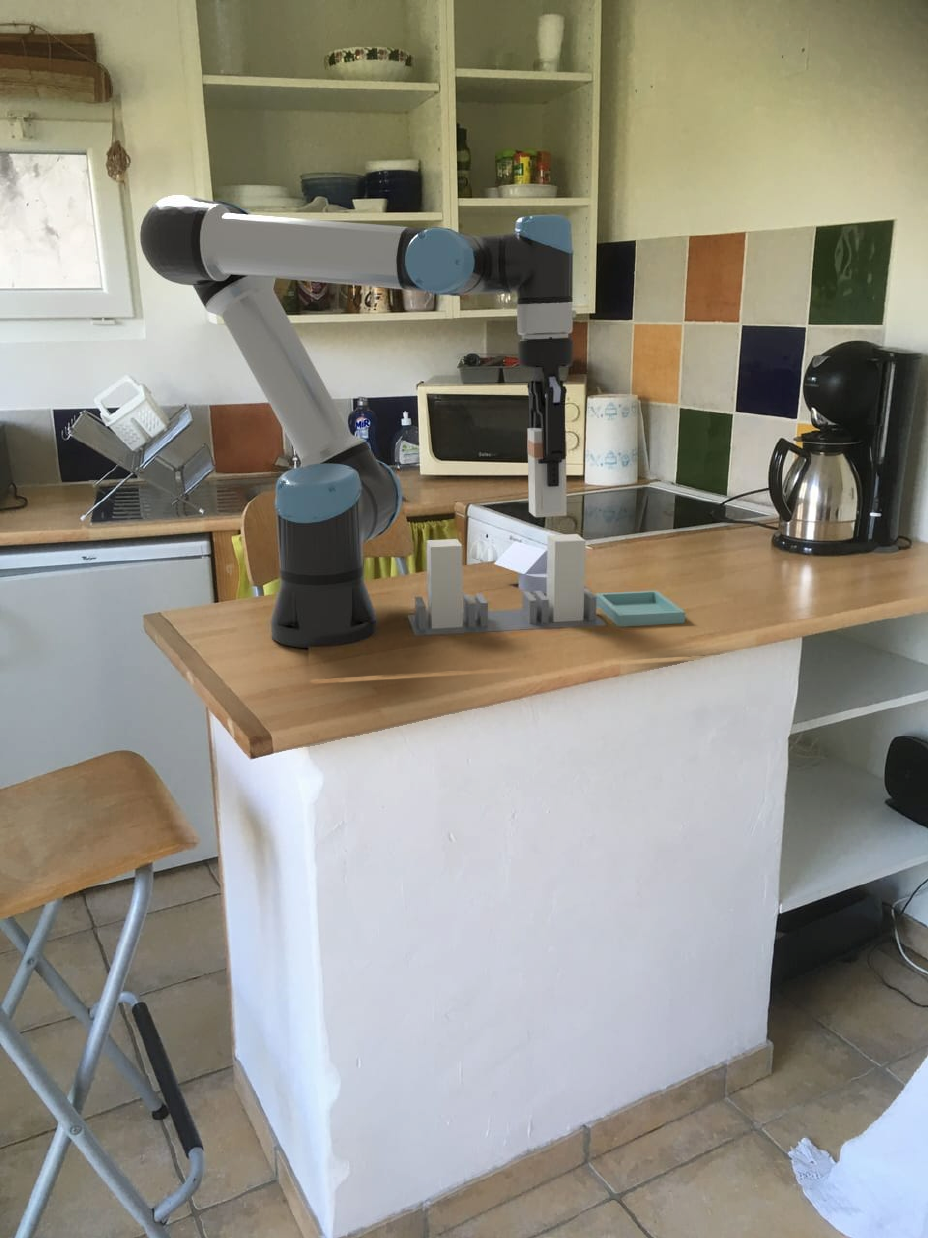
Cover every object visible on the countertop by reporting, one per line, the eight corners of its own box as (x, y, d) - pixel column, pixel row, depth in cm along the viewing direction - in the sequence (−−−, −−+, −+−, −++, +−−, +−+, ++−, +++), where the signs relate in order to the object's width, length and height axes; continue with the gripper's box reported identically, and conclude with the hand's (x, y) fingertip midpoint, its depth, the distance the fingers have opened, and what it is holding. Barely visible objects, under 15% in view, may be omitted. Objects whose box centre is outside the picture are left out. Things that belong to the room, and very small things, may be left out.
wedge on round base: (493, 583, 173) (540, 600, 162) (493, 544, 171) (541, 559, 160) (535, 575, 177) (584, 591, 167) (536, 537, 175) (585, 551, 165)
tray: (618, 629, 147) (619, 615, 147) (594, 606, 159) (595, 593, 158) (684, 625, 149) (685, 612, 148) (656, 603, 160) (657, 590, 160)
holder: (415, 638, 144) (414, 611, 142) (407, 618, 153) (406, 592, 152) (606, 628, 148) (607, 601, 147) (587, 608, 157) (588, 583, 156)
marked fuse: (535, 517, 144) (533, 431, 140) (528, 511, 148) (527, 428, 145) (566, 515, 144) (566, 429, 141) (559, 509, 149) (558, 426, 145)
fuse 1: (431, 628, 146) (430, 547, 143) (427, 619, 151) (426, 540, 147) (462, 626, 147) (462, 545, 144) (457, 617, 151) (457, 539, 148)
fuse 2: (553, 621, 149) (555, 541, 146) (546, 613, 154) (547, 535, 150) (583, 620, 150) (585, 540, 146) (575, 611, 154) (577, 534, 151)
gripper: (588, 336, 131) (589, 515, 138) (557, 334, 148) (559, 494, 155) (531, 338, 130) (534, 518, 137) (506, 336, 147) (510, 497, 154)
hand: (547, 505), depth 146 cm, fingers closed on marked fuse, 4 cm apart
